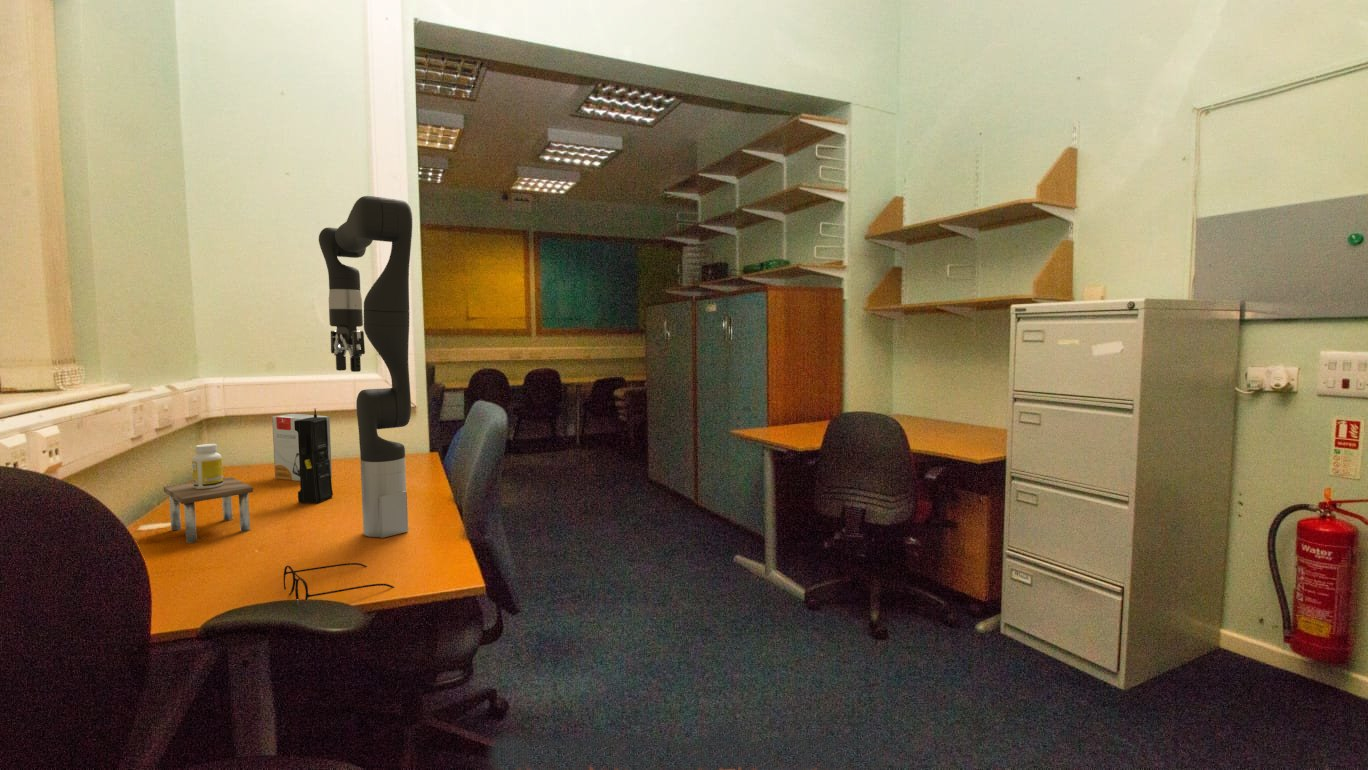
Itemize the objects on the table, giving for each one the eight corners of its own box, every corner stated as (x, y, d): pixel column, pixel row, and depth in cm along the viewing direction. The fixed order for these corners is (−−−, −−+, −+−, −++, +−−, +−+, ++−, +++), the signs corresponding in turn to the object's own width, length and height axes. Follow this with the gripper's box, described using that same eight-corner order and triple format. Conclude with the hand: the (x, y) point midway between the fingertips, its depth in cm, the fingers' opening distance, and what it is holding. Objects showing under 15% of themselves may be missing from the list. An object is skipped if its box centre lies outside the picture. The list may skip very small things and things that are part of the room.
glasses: (281, 590, 111) (283, 562, 111) (368, 576, 122) (371, 551, 122) (304, 615, 101) (306, 585, 101) (397, 598, 112) (399, 571, 112)
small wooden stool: (255, 530, 143) (252, 487, 142) (184, 544, 133) (181, 498, 132) (233, 517, 153) (231, 476, 152) (166, 529, 143) (163, 486, 142)
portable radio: (317, 504, 164) (313, 412, 162) (295, 504, 164) (290, 411, 162) (334, 497, 172) (330, 408, 170) (313, 496, 172) (309, 408, 170)
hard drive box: (273, 479, 193) (270, 416, 191) (295, 474, 200) (292, 413, 198) (312, 483, 188) (309, 418, 186) (333, 477, 195) (330, 415, 194)
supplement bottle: (228, 483, 145) (226, 442, 144) (212, 489, 140) (209, 447, 139) (205, 484, 145) (202, 443, 144) (187, 489, 139) (184, 447, 139)
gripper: (373, 307, 156) (375, 371, 157) (348, 309, 165) (351, 369, 166) (342, 306, 150) (345, 372, 152) (318, 308, 159) (321, 370, 160)
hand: (348, 371), depth 159 cm, fingers open, 8 cm apart
